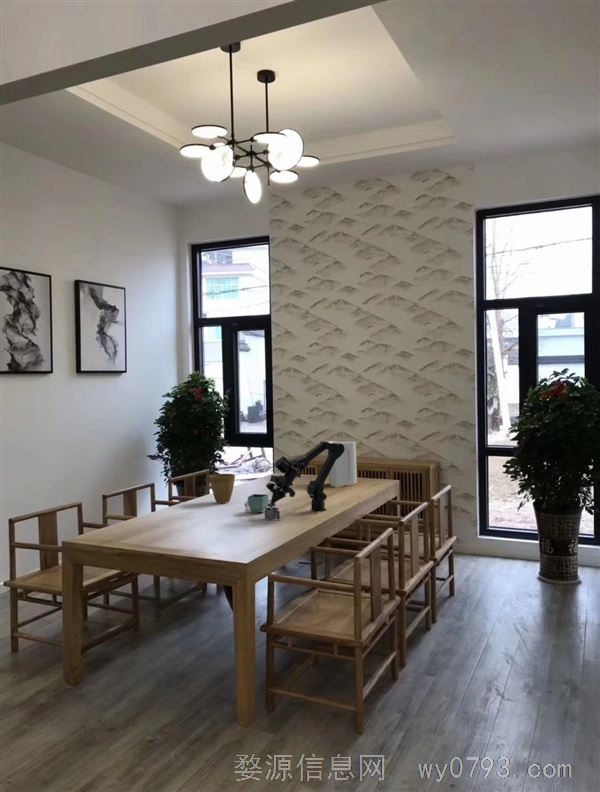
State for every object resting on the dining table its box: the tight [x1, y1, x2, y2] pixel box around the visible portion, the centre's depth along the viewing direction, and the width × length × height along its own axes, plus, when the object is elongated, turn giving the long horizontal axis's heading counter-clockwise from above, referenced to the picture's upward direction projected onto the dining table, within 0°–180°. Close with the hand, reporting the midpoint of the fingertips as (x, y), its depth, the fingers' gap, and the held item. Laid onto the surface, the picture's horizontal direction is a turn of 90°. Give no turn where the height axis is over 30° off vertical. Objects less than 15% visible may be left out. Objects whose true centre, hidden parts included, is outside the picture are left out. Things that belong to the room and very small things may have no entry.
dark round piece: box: [267, 502, 276, 510], centre depth 323 cm, size 5×5×6 cm
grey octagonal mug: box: [264, 506, 281, 521], centre depth 322 cm, size 7×10×5 cm
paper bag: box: [327, 440, 358, 486], centre depth 416 cm, size 19×15×28 cm
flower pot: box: [247, 493, 269, 513], centre depth 339 cm, size 9×9×9 cm
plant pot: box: [209, 473, 236, 504], centre depth 370 cm, size 15×15×16 cm
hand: (271, 503), depth 323 cm, fingers closed, pressing on dark round piece
